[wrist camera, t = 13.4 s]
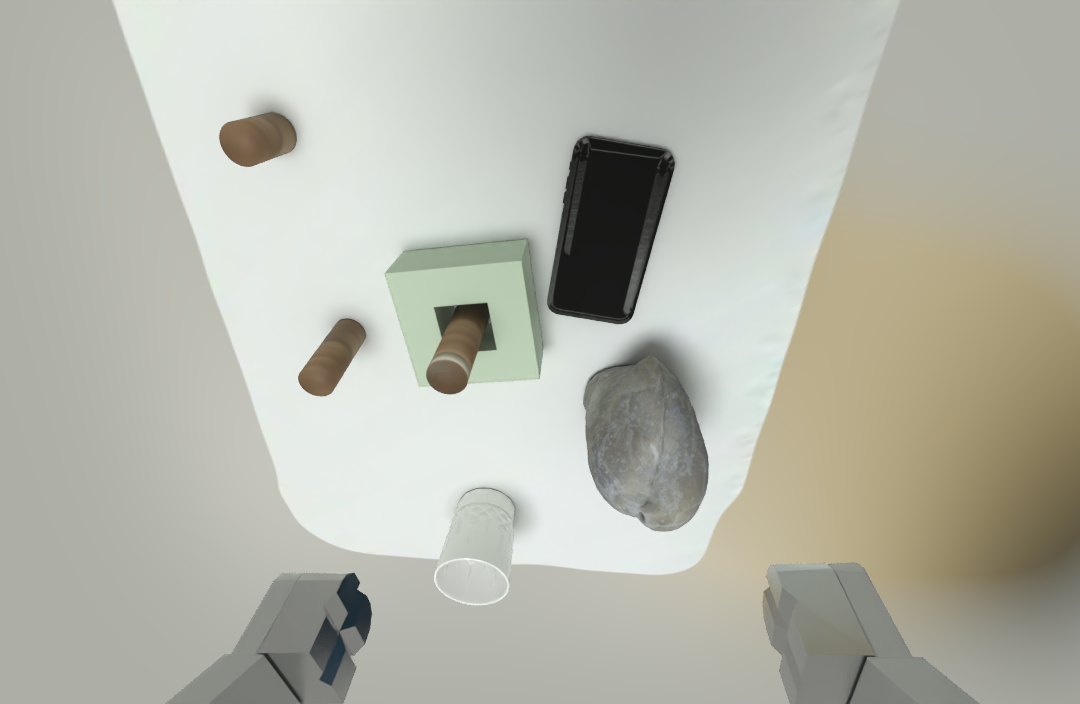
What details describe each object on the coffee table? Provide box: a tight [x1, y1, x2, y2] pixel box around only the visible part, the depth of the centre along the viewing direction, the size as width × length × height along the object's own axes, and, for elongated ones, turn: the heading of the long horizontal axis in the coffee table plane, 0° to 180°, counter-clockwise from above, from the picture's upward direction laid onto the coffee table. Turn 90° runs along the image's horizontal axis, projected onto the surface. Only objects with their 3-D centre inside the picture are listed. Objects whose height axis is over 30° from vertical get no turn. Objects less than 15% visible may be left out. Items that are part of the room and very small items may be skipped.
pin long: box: [426, 303, 490, 394], centre depth 41 cm, size 3×3×12 cm
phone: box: [547, 136, 675, 324], centre depth 42 cm, size 8×1×15 cm
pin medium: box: [298, 319, 366, 396], centre depth 45 cm, size 3×3×8 cm
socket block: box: [385, 239, 543, 387], centre depth 44 cm, size 11×11×5 cm
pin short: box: [219, 113, 297, 167], centre depth 38 cm, size 3×3×5 cm
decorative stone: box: [583, 355, 709, 531], centre depth 44 cm, size 15×10×15 cm
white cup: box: [434, 489, 515, 605], centre depth 56 cm, size 8×8×10 cm
